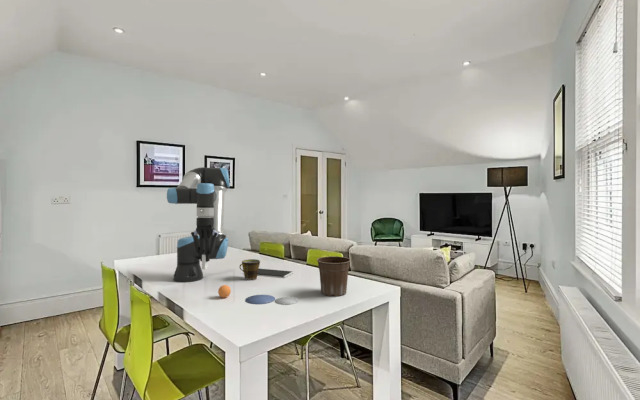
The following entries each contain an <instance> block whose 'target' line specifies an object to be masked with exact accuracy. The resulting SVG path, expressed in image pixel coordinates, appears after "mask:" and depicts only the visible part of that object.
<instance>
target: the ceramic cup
mask: <svg viewBox="0 0 640 400" xmlns="http://www.w3.org/2000/svg"><path fill="white" fill-rule="evenodd" d="M260 264H261V260H260V259H255V258H252V259H251V258H250V259H249V258H248V259H243V260H241V264H239V269H240V271H242V272H243V276H244V280H245V281H255V280H257V279H258V276H257V274H258V269H260ZM241 267H242V268H241Z"/></svg>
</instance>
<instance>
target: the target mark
mask: <svg viewBox="0 0 640 400" xmlns="http://www.w3.org/2000/svg"><path fill="white" fill-rule="evenodd" d="M275 300H276V297H275V296H273V295H271V294H256V295H255V294H254V295H251V296H247V297H246V298H245V302H246V303H248V304H253V305H265V304H270V303H272V302H275Z"/></svg>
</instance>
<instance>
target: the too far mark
mask: <svg viewBox="0 0 640 400" xmlns="http://www.w3.org/2000/svg"><path fill="white" fill-rule="evenodd" d="M274 302H275V303H276V304H278V305H285V306H286V305H287V306H288V305H293V304H297V303H298V302H299V299H298V298H296V297H292V296H283V297H279V298H275V300H274Z"/></svg>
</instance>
